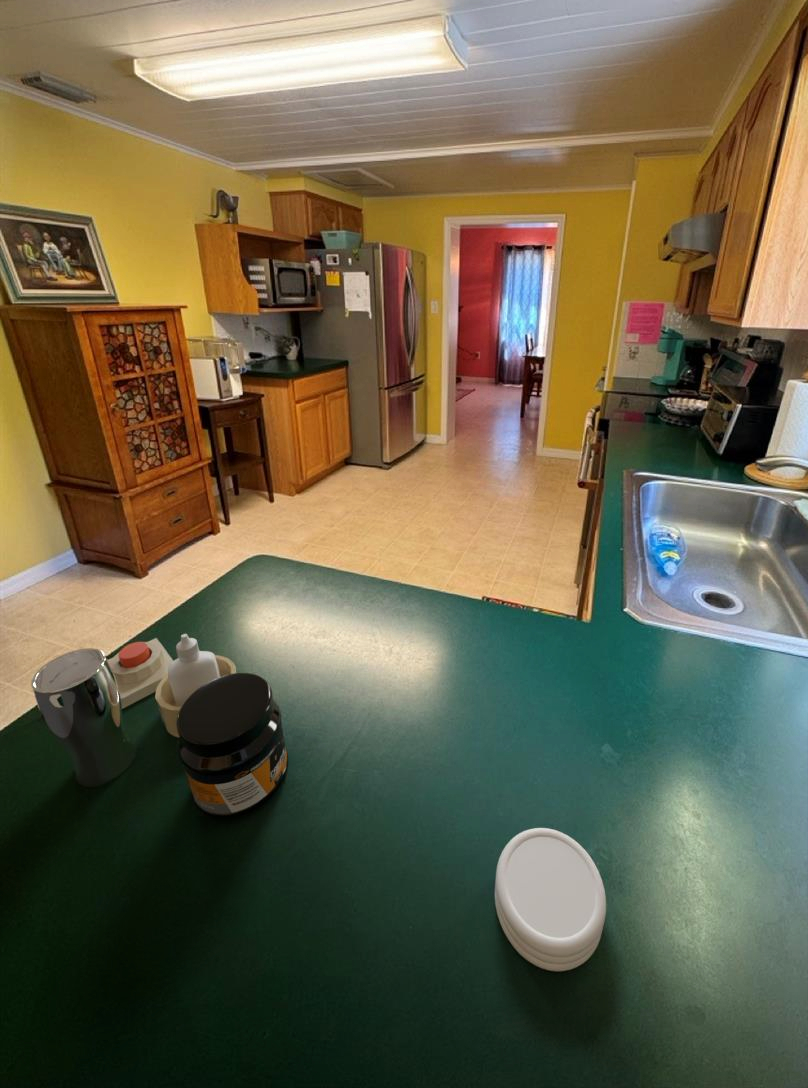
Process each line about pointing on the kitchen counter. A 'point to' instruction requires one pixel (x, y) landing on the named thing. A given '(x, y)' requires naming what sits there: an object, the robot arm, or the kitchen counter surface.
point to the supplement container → (232, 745)
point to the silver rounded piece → (85, 714)
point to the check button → (134, 654)
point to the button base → (141, 674)
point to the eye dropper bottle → (190, 669)
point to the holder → (167, 700)
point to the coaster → (550, 899)
